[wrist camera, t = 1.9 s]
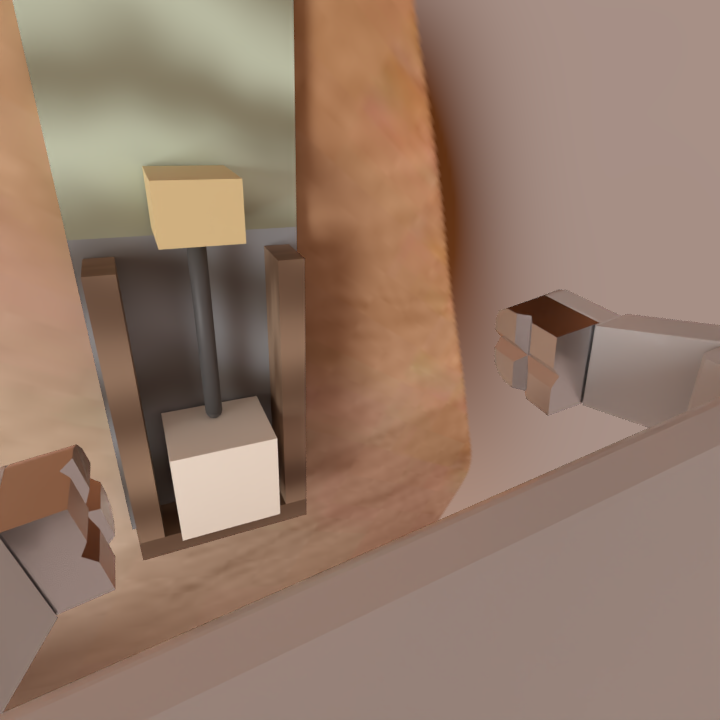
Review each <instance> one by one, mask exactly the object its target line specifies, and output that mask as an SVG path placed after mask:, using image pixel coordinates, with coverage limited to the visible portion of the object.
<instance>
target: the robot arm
mask: <svg viewBox="0 0 720 720" xmlns="http://www.w3.org/2000/svg"><path fill="white" fill-rule="evenodd" d="M495 330H496V331H497V332H498V333H499V335H500V336H501V337H500V339H499V341H498V343H497V344H496V346H495V348H494V358H495V359H494V362H495V364H496V367H497V370H498V373H499V375H500V376H501V377H502V379H503V380H504V381H505V382H506V383H507V384H508V385H510V386H511V387H513V388H516V389H521V390H524V391H525V394H526V399H527V400H529V401H530V402H531V403H532V404H534V405H535V406H536V407H538V408H539V409H540V410H541V411H543V412H544V413H545V414H547V415H551V414H554V413H557V412H559V411H562V410H565V409H567V408H570V407H573V406H576V405H578V404H581V403H583V405H584V406H587V407H590V408H593V409H596V410H599V411H602V412H605V413H608V414H611V415H613V416H616V417H619V418H622V419H625V420H628V421H631V422H634V423H637V424H640V425H642V426H645V427H648V429H646V430H643V431H641V432H639V433H636V434H634V435H632V436H630V437H627V438H625V439H623V440H621V441H618V442H616V443H613V444H611V445H609V446H607V447H604V448H602V449H600V450H597V451H595V452H593V453H591V454H588V455H586V456H584V457H581V458H579V459H577V460H575V461H573V462H570V463H568V464H565V465H563V466H561V467H559V468H557V469H554V470H552V471H550V472H547V473H545V474H543V475H540V476H538V477H536V478H534V479H531V480H529V481H527V482H524V483H522V484H520V485H518V486H516V487H513V488H511V489H508V490H506V491H504V492H502V493H499V494H497V495H495V496H493V497H490V498H488V499H486V500H484V501H481V502H479V503H477V504H475V505H472V506H470V507H468V508H466V509H463V510H461V511H459V512H457V513H455V514H452V515H450V516H447V517H445V518H443V519H441V520H438V521H436V522H434V523H432V524H429V525H427V526H425V527H423V528H420V529H418V530H416V531H414V532H411V533H409V534H407V535H404V536H402V537H400V538H398V539H395V540H393V541H391V542H389V543H386V544H384V545H382V546H380V547H377V548H375V549H373V550H371V551H368V552H366V553H364V554H361V555H359V556H357V557H355V558H352V559H350V560H348V561H346V562H343V563H341V564H339V565H337V566H334V567H332V568H330V569H328V570H325V571H323V572H321V573H318V574H316V575H314V576H312V577H309V578H307V579H305V580H303V581H300V582H298V583H296V584H294V585H291V586H289V587H287V588H284V589H282V590H280V591H278V592H275V593H273V594H271V595H269V596H266V597H264V598H262V599H260V600H257V601H255V602H253V603H250V604H248V605H246V606H244V607H241V608H239V609H237V610H235V611H232V612H230V613H228V614H226V615H223V616H221V617H219V618H216V619H214V620H212V621H210V622H207V623H205V624H203V625H201V626H198V627H196V628H194V629H192V630H189V631H187V632H185V633H182V634H180V635H178V636H176V637H173V638H171V639H169V640H167V641H164V642H162V643H160V644H158V645H155V646H153V647H151V648H148V649H146V650H144V651H142V652H139V653H137V654H135V655H133V656H130V657H128V658H126V659H124V660H121V661H119V662H117V663H114V664H112V665H110V666H108V667H105V668H103V669H101V670H99V671H96V672H94V673H92V674H90V675H87V676H85V677H83V678H80V679H78V680H76V681H74V682H71V683H69V684H67V685H65V686H62V687H60V688H58V689H56V690H53V691H51V692H49V693H46V694H44V695H42V696H40V697H37V698H35V699H33V700H31V701H28V702H26V703H24V704H22V705H19V706H17V707H15V708H12V709H10V710H8V711H6V712H3V711H4V710H5V708H6V706H7V704H8V703H9V701H10V699H11V698H12V696H13V694H14V692H15V691H16V689H17V687H18V685H19V684H20V682H21V680H22V679H23V677H24V675H25V673H26V672H27V670H28V668H29V666H30V665H31V663H32V661H33V660H34V658H35V656H36V654H37V653H38V651H39V649H40V647H41V646H42V644H43V642H44V641H45V639H46V637H47V635H48V634H49V632H50V630H51V628H52V627H53V625H54V623H55V621H56V620H57V618H58V617H57V616H56V615H57V614H60V613H62V612H64V611H67V610H69V609H71V608H74V607H76V606H78V605H81V604H83V603H85V602H88V601H90V600H92V599H95V598H97V597H99V596H102V595H104V594H106V593H109V592H111V591H113V590H115V555H114V553H113V552H112V550H111V548H110V546H109V543H110V542H111V540H112V539H113V538H114V536H115V527H114V518H113V514H112V509H111V505H110V502H109V500H108V497H107V494H106V492H105V490H104V488H103V486H102V484H101V483H100V482H98V481H95V480H93V479H91V478H90V462H89V460H88V458H87V456H86V455H85V453H84V451H83V449H82V448H81V447H79V446H78V445H73V446H70V447H66V448H63V449H60V450H56V451H53V452H50V453H46V454H43V455H39V456H36V457H33V458H29V459H26V460H23V461H19V462H16V463H13V464H10V465H9V466H2V467H0V720H720V325H715V324H706V323H698V322H690V321H682V320H673V319H665V318H657V317H649V316H640V315H632V314H625V315H622V316H621V315H618V314H616V313H614V312H612V311H610V310H608V309H606V308H604V307H602V306H600V305H597V304H595V303H593V302H591V301H589V300H587V299H585V298H583V297H581V296H579V295H576V294H574V293H572V292H570V291H568V290H556V291H553V292H551V293H548V294H545V295H542V296H540V297H537V298H535V299H532V300H529V301H526V302H523V303H520V304H517V305H514V306H512V307H509V308H506V309H503V310H500V311H499V312H498V315H497V317H496V325H495Z"/></svg>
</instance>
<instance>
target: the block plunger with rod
mask: <svg viewBox="0 0 720 720" xmlns="http://www.w3.org/2000/svg"><path fill="white" fill-rule="evenodd" d="M142 169H143V176H144V183H145V190H146V196H147V203H148V210H149V217H150V224H151V228H152V231H153V234H154V237H155V240H156V243H157V246H158V249H159V250H162V249H176V248H186V249H187V257H188V266H189V274H190V283H191V291H192V300H193V308H194V317H195V326H196V334H197V343H198V351H199V360H200V368H201V377H202V385H203V394H204V402H205V405H203V406H198V407H193V408H187V409H182V410H176V411H171V412H165V413H161V415H162V421H163V427H164V433H165V439H166V445H167V451H168V457H169V463H170V469H171V475H172V481H173V487H174V493H175V499H176V504H177V510H178V516H179V521H180V527H181V533H182V538H183V541H184V540H187V539H191V538H195V537H198V536H202V535H205V534H209V533H213V532H216V531H220V530H223V529H227V528H231V527H234V526H238V525H241V524H245V523H249V522H252V521H256V520H260V519H263V518H267V517H270V516H274V515H278V514H280V495H279V469H278V444H277V437H276V435H275V433H274V431H273V429H272V426H271V424H270V422H269V420H268V418H267V416H266V414H265V412H264V410H263V408H262V406H261V404H260V402H259V400H258V398H257V396H252V397H247V398H242V399H236V400H231V401H225V402H222V401H221V391H220V381H219V370H218V360H217V350H216V340H215V330H214V319H213V309H212V299H211V289H210V279H209V269H208V258H207V248H206V246H220V245H234V244H246V231H245V214H244V198H243V181H242V178H241V177H239V176H238V175H237V174H235V173H234V172H232V171H231V170H230V169H228V168H227V167H226V166H224V165H192V166H142Z"/></svg>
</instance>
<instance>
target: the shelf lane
mask: <svg viewBox="0 0 720 720" xmlns="http://www.w3.org/2000/svg"><path fill="white" fill-rule="evenodd" d="M13 5H14V9H15V13H16V18H17V22H18V27H19V31H20V35H21V40H22V44H23V49H24V53H25V57H26V62H27V66H28V71H29V75H30V80H31V84H32V88H33V93H34V97H35V102H36V106H37V110H38V115H39V119H40V124H41V128H42V132H43V137H44V141H45V146H46V150H47V154H48V159H49V163H50V168H51V172H52V176H53V181H54V185H55V190H56V194H57V198H58V203H59V207H60V212H61V216H62V220H63V225H64V229H65V234H66V238H67V242H68V247H69V251H70V256H71V260H72V264H73V269H74V273H75V278H76V282H77V286H78V291H79V295H80V300H81V304H82V308H83V313H84V317H85V322H86V326H87V330H88V335H89V339H90V344H91V348H92V352H93V357H94V361H95V366H96V370H97V374H98V379H99V383H100V388H101V392H102V396H103V401H104V405H105V410H106V414H107V418H108V423H109V427H110V432H111V436H112V441H113V445H114V449H115V454H116V458H117V463H118V467H119V471H120V476H121V480H122V485H123V489H124V493H125V498H126V502H127V507H128V511H129V515H130V520H131V524H132V529H137V534H138V538H139V543H140V547H141V552H142V556H143V560H147V559H150V558H154V557H157V556H161V555H164V554H168V553H171V552H175V551H178V550H182V549H185V548H189V547H193V546H196V545H200V544H203V543H207V542H210V541H214V540H217V539H221V538H224V537H228V536H231V535H235V534H238V533H242V532H246V531H249V530H253V529H256V528H260V527H263V526H267V525H270V524H274V523H277V522H281V521H284V520H288V519H291V518H295V517H299V516H302V515H306V371H305V258H304V257H302V256H301V255H300V254H299V253H298V252H297V225H296V153H295V80H294V7H293V0H13ZM192 165H224V166H226V167H227V168H228V169H230V170H231V171H232V172H234V173H235V174H237V175H238V176H239V177H241V178H242V181H243V198H244V214H245V231H246V244H234V245H220V246H206V248H207V258H208V269H209V279H210V289H211V299H212V309H213V319H214V330H215V340H216V350H217V360H218V370H219V381H220V391H221V401H222V402H225V401H231V400H236V399H242V398H247V397H252V396H257V398H258V400H259V402H260V404H261V406H262V408H263V410H264V412H265V414H266V416H267V418H268V420H269V422H270V424H271V426H272V429H273V431H274V433H275V435H276V437H277V444H278V469H279V495H280V514H278V515H274V516H270V517H267V518H263V519H260V520H256V521H252V522H249V523H245V524H241V525H238V526H234V527H231V528H227V529H223V530H220V531H216V532H213V533H209V534H205V535H202V536H198V537H195V538H191V539H187V540H184V541H183V538H182V533H181V527H180V521H179V516H178V510H177V504H176V499H175V493H174V487H173V481H172V475H171V469H170V463H169V457H168V451H167V445H166V439H165V433H164V427H163V421H162V415H161V413H165V412H171V411H176V410H182V409H187V408H193V407H198V406H203V405H205V402H204V394H203V385H202V377H201V368H200V360H199V351H198V343H197V334H196V326H195V317H194V308H193V300H192V291H191V283H190V274H189V266H188V257H187V249H186V248H176V249H162V250H159V249H158V246H157V243H156V240H155V237H154V234H153V231H152V228H151V224H150V217H149V210H148V203H147V196H146V190H145V183H144V176H143V169H142V166H192Z"/></svg>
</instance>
